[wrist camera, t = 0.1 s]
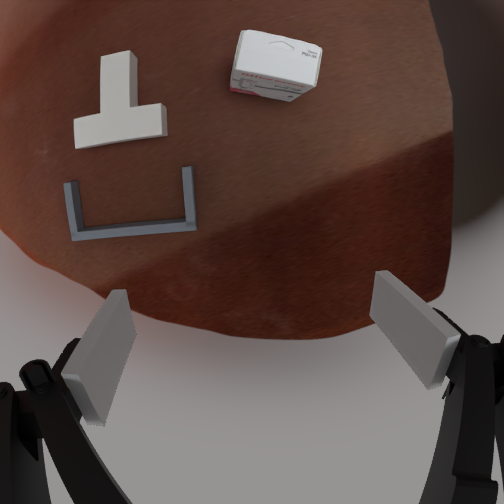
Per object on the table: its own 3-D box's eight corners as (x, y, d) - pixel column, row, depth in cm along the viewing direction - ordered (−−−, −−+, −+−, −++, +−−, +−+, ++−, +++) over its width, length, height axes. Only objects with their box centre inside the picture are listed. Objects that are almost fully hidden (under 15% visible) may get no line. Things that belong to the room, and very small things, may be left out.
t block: (86, 69, 33) (74, 63, 29) (165, 53, 34) (160, 45, 30) (87, 148, 37) (75, 148, 33) (167, 135, 38) (162, 134, 34)
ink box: (227, 91, 36) (230, 69, 25) (234, 59, 35) (239, 27, 24) (291, 103, 38) (317, 88, 27) (297, 71, 36) (324, 46, 25)
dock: (71, 181, 38) (63, 183, 35) (192, 165, 39) (191, 166, 37) (79, 236, 40) (72, 241, 38) (197, 225, 42) (196, 230, 40)
